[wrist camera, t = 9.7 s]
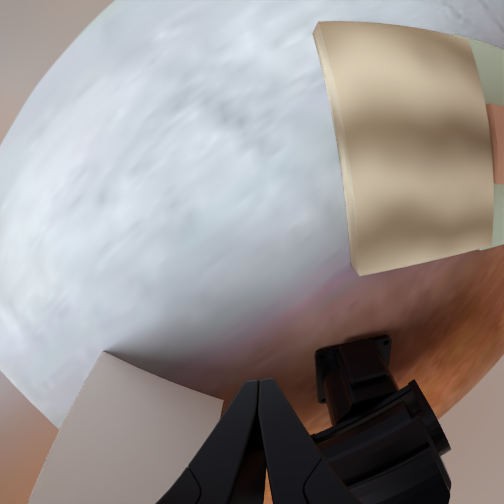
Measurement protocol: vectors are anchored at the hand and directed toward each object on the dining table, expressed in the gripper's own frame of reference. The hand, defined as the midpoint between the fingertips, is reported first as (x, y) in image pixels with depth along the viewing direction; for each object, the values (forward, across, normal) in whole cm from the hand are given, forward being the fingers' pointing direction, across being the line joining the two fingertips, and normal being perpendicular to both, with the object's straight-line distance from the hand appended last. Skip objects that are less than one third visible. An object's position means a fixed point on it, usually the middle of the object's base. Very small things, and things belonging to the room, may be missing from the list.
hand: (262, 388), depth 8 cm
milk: (+12, +14, +15) cm, 24 cm away
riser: (+12, -12, -6) cm, 18 cm away
